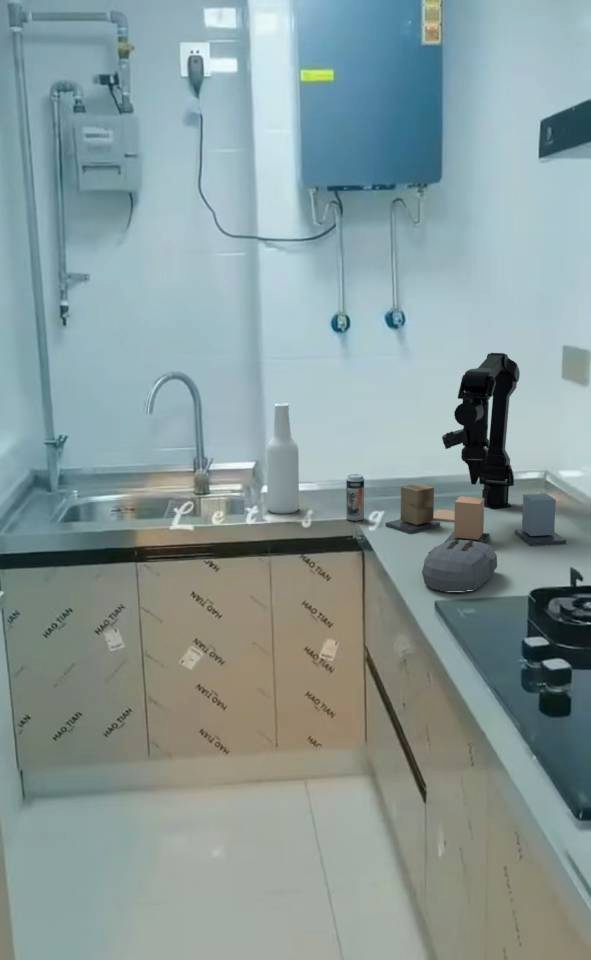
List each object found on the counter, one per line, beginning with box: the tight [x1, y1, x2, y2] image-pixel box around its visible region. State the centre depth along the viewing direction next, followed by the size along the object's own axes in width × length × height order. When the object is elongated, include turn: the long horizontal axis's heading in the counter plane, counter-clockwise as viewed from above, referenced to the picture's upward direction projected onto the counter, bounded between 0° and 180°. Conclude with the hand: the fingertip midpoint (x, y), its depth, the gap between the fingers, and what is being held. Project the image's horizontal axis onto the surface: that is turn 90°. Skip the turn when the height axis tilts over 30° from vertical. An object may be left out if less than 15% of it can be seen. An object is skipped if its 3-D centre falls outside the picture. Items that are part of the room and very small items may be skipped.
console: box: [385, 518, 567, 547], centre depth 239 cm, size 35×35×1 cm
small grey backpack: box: [421, 539, 498, 592], centre depth 204 cm, size 15×8×20 cm
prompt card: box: [433, 509, 455, 523], centre depth 253 cm, size 9×9×1 cm
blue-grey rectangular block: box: [521, 493, 557, 536], centre depth 233 cm, size 6×6×9 cm
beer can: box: [345, 473, 365, 522], centre depth 251 cm, size 5×5×12 cm
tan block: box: [453, 495, 485, 540], centre depth 232 cm, size 6×6×9 cm
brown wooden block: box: [400, 482, 435, 525], centre depth 245 cm, size 6×6×9 cm
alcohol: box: [265, 402, 300, 515], centre depth 259 cm, size 9×9×30 cm
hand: (474, 480), depth 242 cm, fingers open, 9 cm apart
